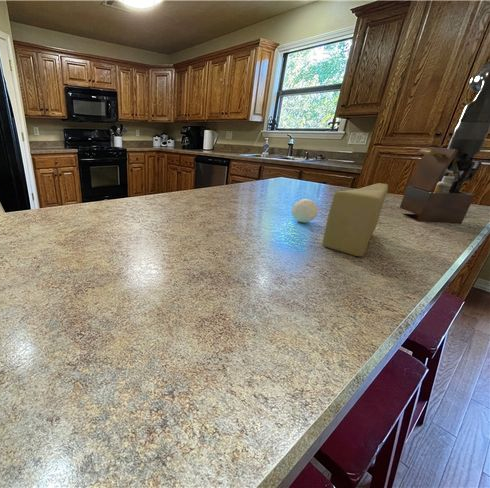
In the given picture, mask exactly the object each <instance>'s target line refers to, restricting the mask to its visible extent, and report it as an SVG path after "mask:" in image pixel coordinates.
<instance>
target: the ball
mask: <svg viewBox="0 0 490 488" xmlns="http://www.w3.org/2000/svg"><path fill="white" fill-rule="evenodd" d="M291 214H292V218H293V219H294V220H295V221H296V222H298V223H303V224H307V223H309V222H312V221H314V220H315V219H316V218H317V216H318V214H319V207H318V205H317V203H316V202H315V201H313V199H307V198H302V199H300V200H297V201H296V203H294V204H293V206H292V209H291Z"/></svg>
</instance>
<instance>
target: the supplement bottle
mask: <svg viewBox="0 0 490 488" xmlns="http://www.w3.org/2000/svg"><path fill="white" fill-rule="evenodd" d="M454 177H455V176H451V175H450V176H444V177H443V179H442V182H438V183H437V186H436V188H435V191H434V193H450V192H449V191H450V188H451V186H452V184H453V181H454ZM451 194H457V193H451Z"/></svg>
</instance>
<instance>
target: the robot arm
mask: <svg viewBox="0 0 490 488" xmlns="http://www.w3.org/2000/svg"><path fill="white" fill-rule="evenodd" d="M469 88H470V90H472V92H474V93H478V94H477V95H476V97H475V98H474V99H473V100H472V101H470V102H468V103H467V104H466V105H465V107H464V108H463V110H462V113H461V116H460V118H459V121H458V123H457V125H456V127H455V128H454V131H453V133H452V136H451V138H450V140H449V143H448V146H447V148H448V149H458V152H457V153H456V155H455V156H454V158H453V159H452V161H451V163H450V164H449V166H448V167H447V169H446V171H445V172H444V174H443V175H442V177H441V179H440V180H439V182H442V179H443V177H444V176H451V175H452V174H453V175H454V176H453V177H454V181H453V184H452V186H451V188H450V191H449V192H450V193H458V192H459V191H461V188H462V187H463V185H464V183H465V182H471V181H472V180H473V179H474V177H475V175H476V173H477V172H478V170H479V169H480V167H481V165H482V161H476V160H474V158H475V156H476V155H479V154H480V152H481V150H482V148H483V146H484V143H485V141H486V139H487V137H488V134H489V132H490V60H489V61H488V62H486V63H485V64H484V65H483V66H481V67H480V68H479V69H478V70H476V72H475V73H474V74H473V75H472V77H471V79H470V80H469ZM436 186H437V185H436ZM435 188H436V187H435Z"/></svg>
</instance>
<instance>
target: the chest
mask: <svg viewBox="0 0 490 488" xmlns="http://www.w3.org/2000/svg"><path fill="white" fill-rule="evenodd" d="M434 191H435V188H434V190H433V191H432V192H430V191H427V190H423V189H420V188H416V187H413V186H409V185H406V189H405V192H404V194H403V198H402V199H401V202H400V205H399V208H400V209H402V210H405V211H408V212H410V213H401V215H404V216H406V217H408V218H410V219H412V220H415V221H416V222H420V223H421V222H422V223H439V224H455V225H461V224H462V223H463V222H464V219H465V217H466V215H467V213H468V211H469V209H470V206H471V204H472V202H473V200H474V199H475V195H476V194H473V193H469V192H466V191H461V190H460V191H459V192H458V193H457V194H451V193H434Z"/></svg>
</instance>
